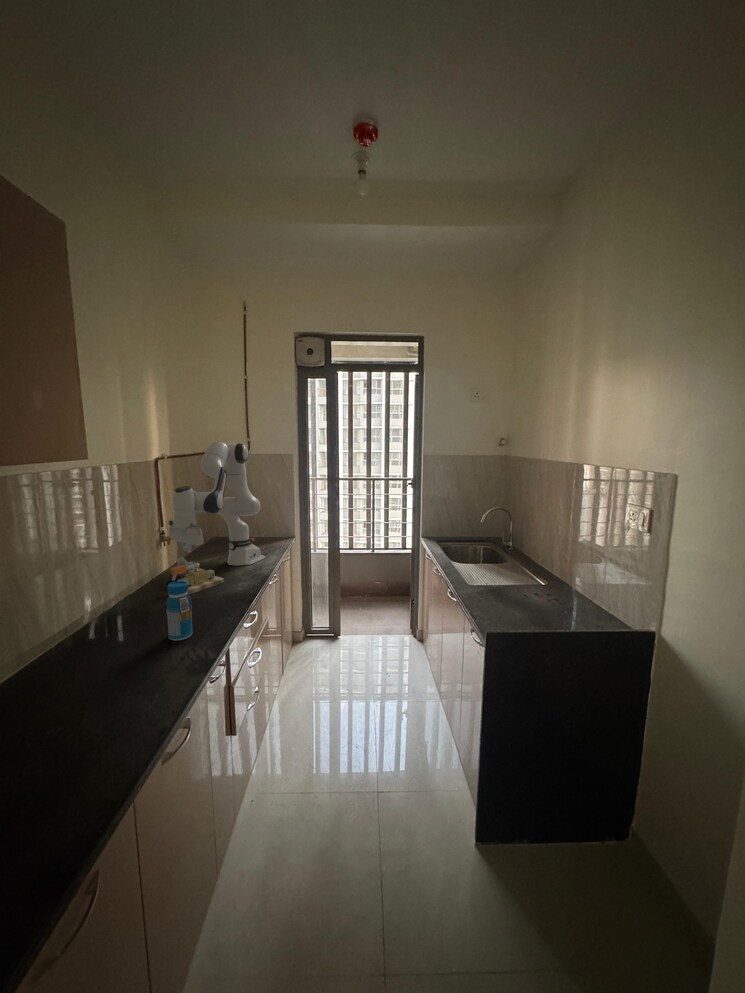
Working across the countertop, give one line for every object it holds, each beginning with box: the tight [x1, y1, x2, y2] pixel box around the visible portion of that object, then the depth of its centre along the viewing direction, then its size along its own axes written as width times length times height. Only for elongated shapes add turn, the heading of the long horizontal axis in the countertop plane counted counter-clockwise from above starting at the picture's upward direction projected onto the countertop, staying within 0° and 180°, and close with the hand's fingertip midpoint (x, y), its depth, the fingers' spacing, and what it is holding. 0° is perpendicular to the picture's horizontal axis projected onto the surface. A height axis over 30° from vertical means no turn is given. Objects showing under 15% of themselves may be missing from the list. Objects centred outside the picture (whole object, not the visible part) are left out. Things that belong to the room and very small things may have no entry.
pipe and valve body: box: [177, 567, 216, 586], centre depth 193 cm, size 18×5×8 cm, turn 149°
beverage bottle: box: [165, 580, 194, 642], centre depth 144 cm, size 8×8×20 cm
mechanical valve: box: [166, 556, 195, 588], centre depth 199 cm, size 10×18×15 cm
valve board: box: [187, 575, 225, 596], centre depth 194 cm, size 22×12×2 cm, turn 149°
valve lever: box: [170, 562, 200, 576], centre depth 188 cm, size 13×3×3 cm, turn 148°
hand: (187, 551), depth 181 cm, fingers closed
